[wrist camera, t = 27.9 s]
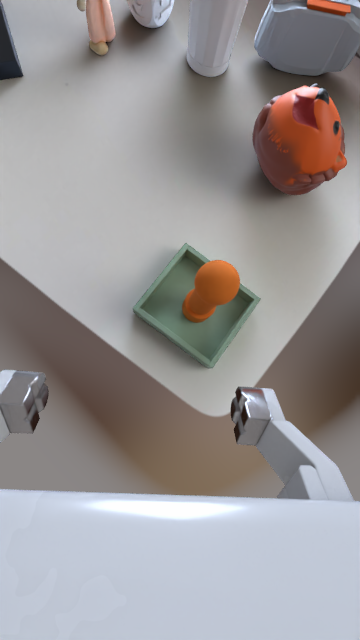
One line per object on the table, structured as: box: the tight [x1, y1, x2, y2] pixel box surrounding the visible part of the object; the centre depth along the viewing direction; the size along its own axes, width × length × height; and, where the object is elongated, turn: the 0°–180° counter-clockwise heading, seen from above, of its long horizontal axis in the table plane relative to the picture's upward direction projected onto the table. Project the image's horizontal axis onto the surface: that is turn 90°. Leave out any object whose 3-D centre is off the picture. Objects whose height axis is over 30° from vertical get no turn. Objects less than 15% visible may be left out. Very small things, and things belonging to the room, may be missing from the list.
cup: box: [187, 0, 248, 77], centre depth 34 cm, size 8×8×12 cm
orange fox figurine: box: [253, 84, 347, 195], centre depth 33 cm, size 12×10×11 cm
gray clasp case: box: [254, 0, 360, 76], centre depth 38 cm, size 14×3×8 cm, turn 85°
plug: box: [182, 260, 240, 323], centre depth 27 cm, size 4×4×12 cm
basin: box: [133, 243, 260, 368], centre depth 33 cm, size 11×10×2 cm
